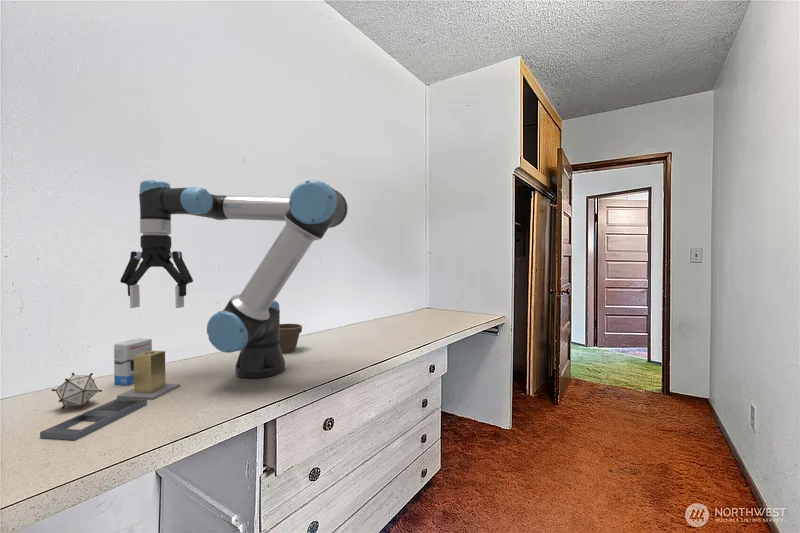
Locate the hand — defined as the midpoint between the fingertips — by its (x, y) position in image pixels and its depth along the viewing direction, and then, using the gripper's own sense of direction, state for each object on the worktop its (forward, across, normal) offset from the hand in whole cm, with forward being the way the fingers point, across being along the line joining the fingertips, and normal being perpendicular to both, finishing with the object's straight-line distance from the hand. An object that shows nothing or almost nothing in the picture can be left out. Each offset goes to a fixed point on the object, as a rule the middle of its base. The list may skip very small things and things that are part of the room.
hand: (157, 307), depth 108 cm
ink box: (+22, +8, -1) cm, 24 cm away
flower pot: (+22, -25, -37) cm, 50 cm away
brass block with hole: (+21, -3, +8) cm, 23 cm away
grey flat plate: (+22, -4, +25) cm, 34 cm away
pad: (+22, -3, +8) cm, 24 cm away
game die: (+22, +7, +18) cm, 30 cm away
